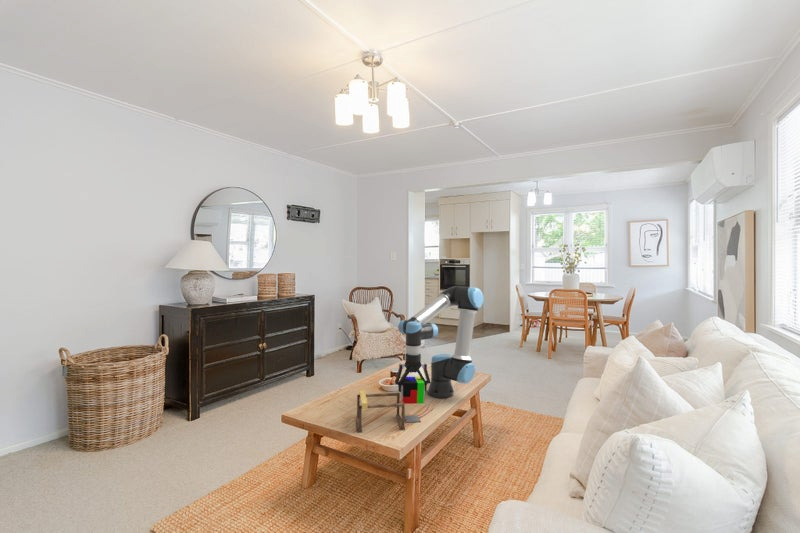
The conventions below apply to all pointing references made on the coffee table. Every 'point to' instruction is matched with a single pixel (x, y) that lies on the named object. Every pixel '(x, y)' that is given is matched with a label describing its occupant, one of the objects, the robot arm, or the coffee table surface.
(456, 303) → the robot arm
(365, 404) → the bar
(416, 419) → the pad
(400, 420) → the rack
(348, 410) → the coffee table surface
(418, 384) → the puzzle toy
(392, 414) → the coffee table surface
